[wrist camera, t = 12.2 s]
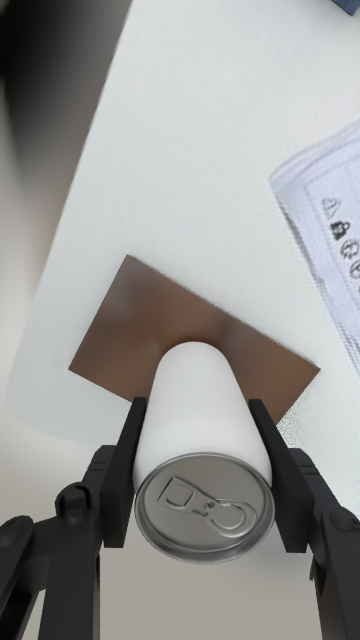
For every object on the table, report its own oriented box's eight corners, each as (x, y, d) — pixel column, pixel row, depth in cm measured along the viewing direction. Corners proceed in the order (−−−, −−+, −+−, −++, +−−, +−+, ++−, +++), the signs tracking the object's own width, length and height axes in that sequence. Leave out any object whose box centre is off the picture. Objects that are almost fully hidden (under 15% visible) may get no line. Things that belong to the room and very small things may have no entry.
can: (206, 418, 22) (231, 592, 11) (144, 387, 22) (97, 536, 10) (244, 361, 21) (321, 489, 9) (178, 326, 20) (170, 416, 9)
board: (72, 365, 23) (67, 369, 22) (129, 254, 21) (126, 254, 20) (244, 455, 25) (246, 462, 24) (315, 364, 23) (321, 369, 22)
